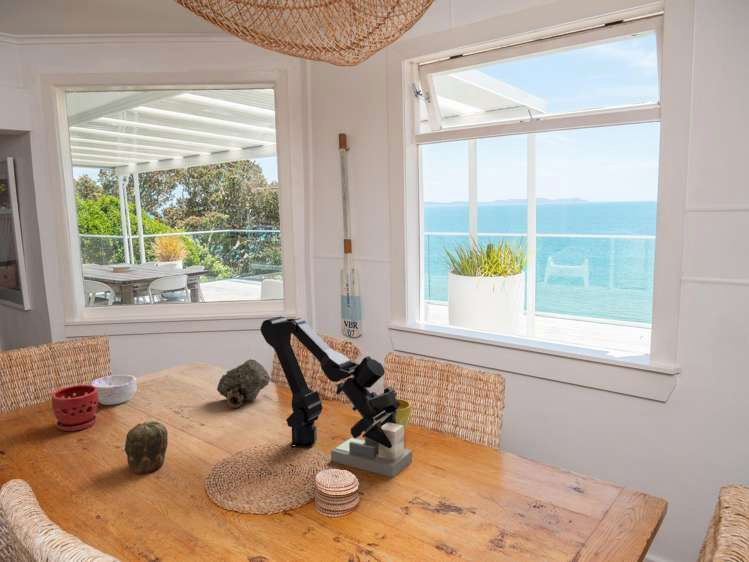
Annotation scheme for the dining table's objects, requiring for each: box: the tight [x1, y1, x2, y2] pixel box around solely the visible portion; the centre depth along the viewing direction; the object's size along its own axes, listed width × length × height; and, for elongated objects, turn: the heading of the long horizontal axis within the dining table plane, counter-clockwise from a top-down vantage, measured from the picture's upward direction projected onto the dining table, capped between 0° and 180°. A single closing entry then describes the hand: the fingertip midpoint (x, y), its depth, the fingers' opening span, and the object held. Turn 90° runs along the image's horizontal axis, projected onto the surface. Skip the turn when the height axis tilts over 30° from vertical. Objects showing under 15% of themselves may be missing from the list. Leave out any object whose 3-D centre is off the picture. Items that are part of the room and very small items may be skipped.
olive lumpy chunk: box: [124, 420, 169, 475], centre depth 147 cm, size 11×11×12 cm
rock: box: [216, 358, 272, 409], centre depth 196 cm, size 18×14×15 cm
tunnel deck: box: [330, 435, 413, 478], centre depth 149 cm, size 20×11×6 cm, turn 59°
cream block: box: [379, 422, 405, 461], centre depth 145 cm, size 5×5×8 cm
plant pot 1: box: [51, 384, 99, 432], centre depth 176 cm, size 13×13×12 cm
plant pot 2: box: [379, 397, 412, 435], centre depth 167 cm, size 10×10×10 cm
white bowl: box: [90, 374, 138, 406], centre depth 200 cm, size 15×15×8 cm
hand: (395, 443), depth 145 cm, fingers closed on cream block, 5 cm apart
